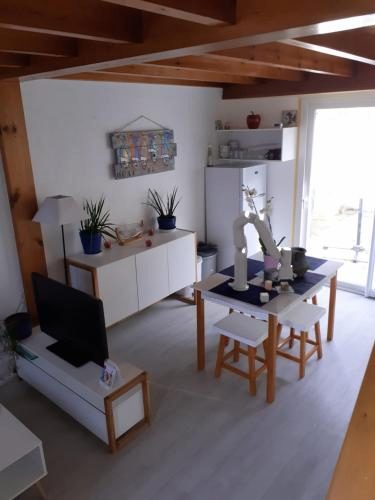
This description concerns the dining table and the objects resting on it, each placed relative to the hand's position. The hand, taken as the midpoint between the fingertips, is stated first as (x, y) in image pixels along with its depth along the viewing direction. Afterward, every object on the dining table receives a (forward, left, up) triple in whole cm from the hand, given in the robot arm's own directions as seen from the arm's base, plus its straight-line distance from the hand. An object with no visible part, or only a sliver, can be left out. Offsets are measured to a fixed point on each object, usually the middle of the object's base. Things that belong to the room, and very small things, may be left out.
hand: (284, 285), depth 314 cm
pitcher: (+16, +26, -4) cm, 31 cm away
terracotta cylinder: (-12, +3, -4) cm, 13 cm away
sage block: (-19, -17, -4) cm, 26 cm away
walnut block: (0, 0, -4) cm, 4 cm away
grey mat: (0, 0, -4) cm, 4 cm away
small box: (-7, +17, -4) cm, 19 cm away
